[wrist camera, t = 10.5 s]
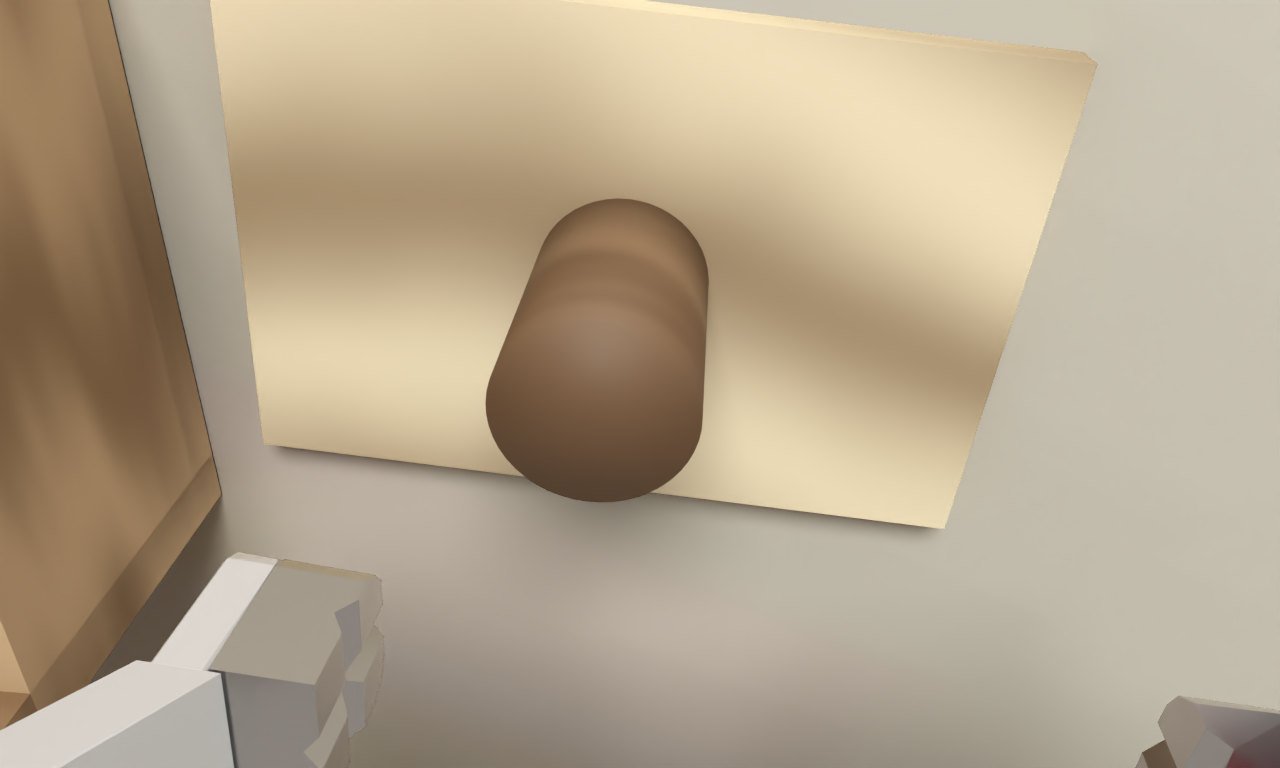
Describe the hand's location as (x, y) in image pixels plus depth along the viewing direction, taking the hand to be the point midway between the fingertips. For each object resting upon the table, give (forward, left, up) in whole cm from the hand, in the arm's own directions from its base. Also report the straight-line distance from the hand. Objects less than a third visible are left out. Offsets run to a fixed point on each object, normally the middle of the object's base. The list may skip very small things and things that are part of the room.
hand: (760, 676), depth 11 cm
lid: (+1, +2, -9) cm, 9 cm away
